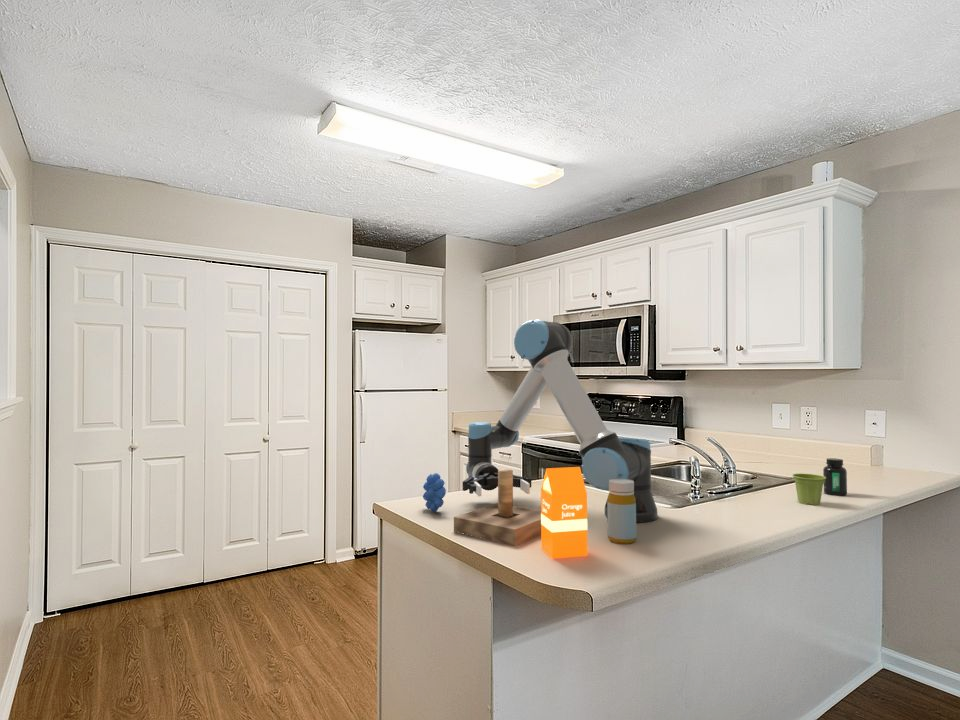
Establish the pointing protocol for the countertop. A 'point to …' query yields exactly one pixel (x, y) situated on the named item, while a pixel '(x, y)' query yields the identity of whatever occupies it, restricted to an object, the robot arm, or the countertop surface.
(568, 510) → the orange juice
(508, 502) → the oak leg
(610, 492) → the bottle
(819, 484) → the plant pot
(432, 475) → the grapes
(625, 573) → the countertop surface
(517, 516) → the walnut board
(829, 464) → the supplement bottle
